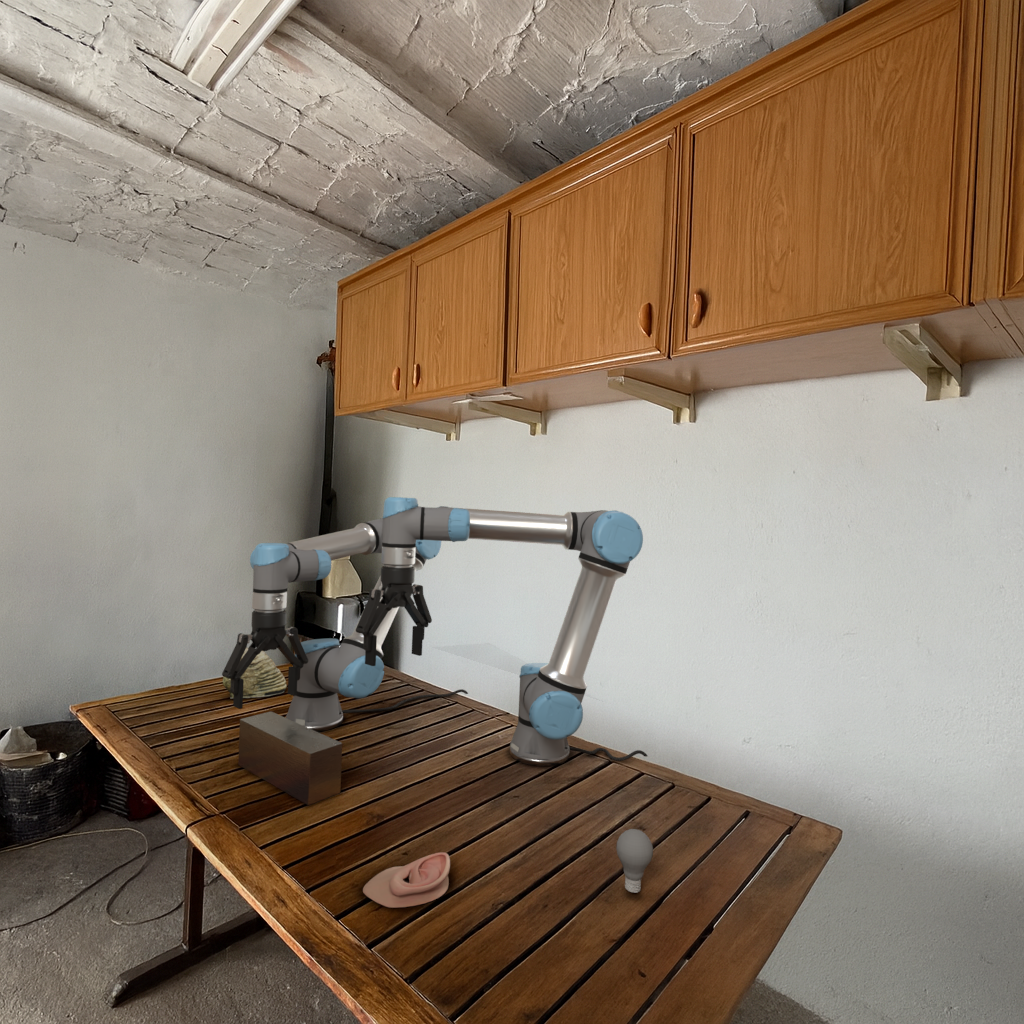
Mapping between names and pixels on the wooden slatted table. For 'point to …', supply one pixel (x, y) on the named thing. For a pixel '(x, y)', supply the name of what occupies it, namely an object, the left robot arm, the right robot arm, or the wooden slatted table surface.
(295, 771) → the box
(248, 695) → the fossil
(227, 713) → the wooden slatted table surface
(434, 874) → the anatomical model
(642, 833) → the light bulb
